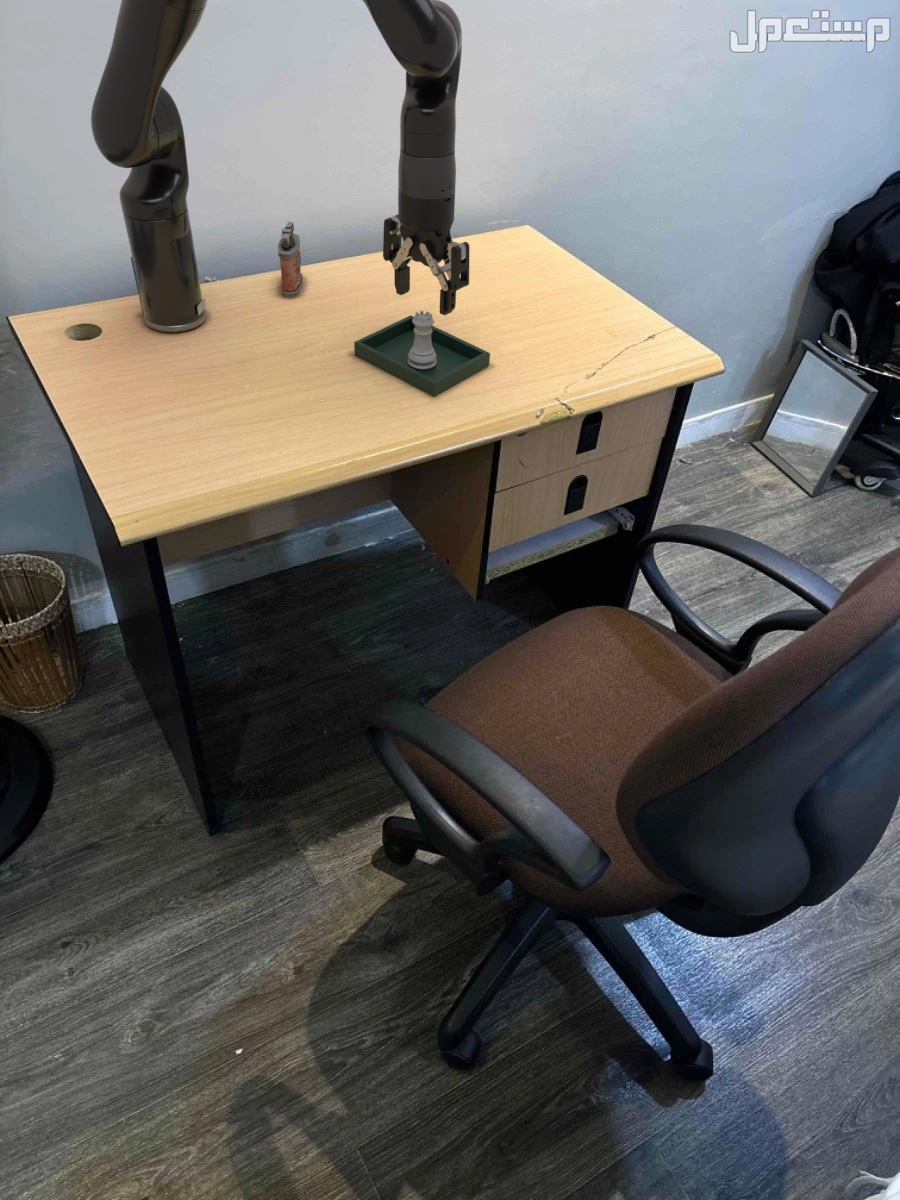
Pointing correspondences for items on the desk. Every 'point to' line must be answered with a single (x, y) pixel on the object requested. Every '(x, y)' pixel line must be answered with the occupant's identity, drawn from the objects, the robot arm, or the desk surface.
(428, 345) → the rook chess piece
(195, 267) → the robot arm
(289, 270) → the lighter
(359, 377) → the desk surface
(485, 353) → the tray
